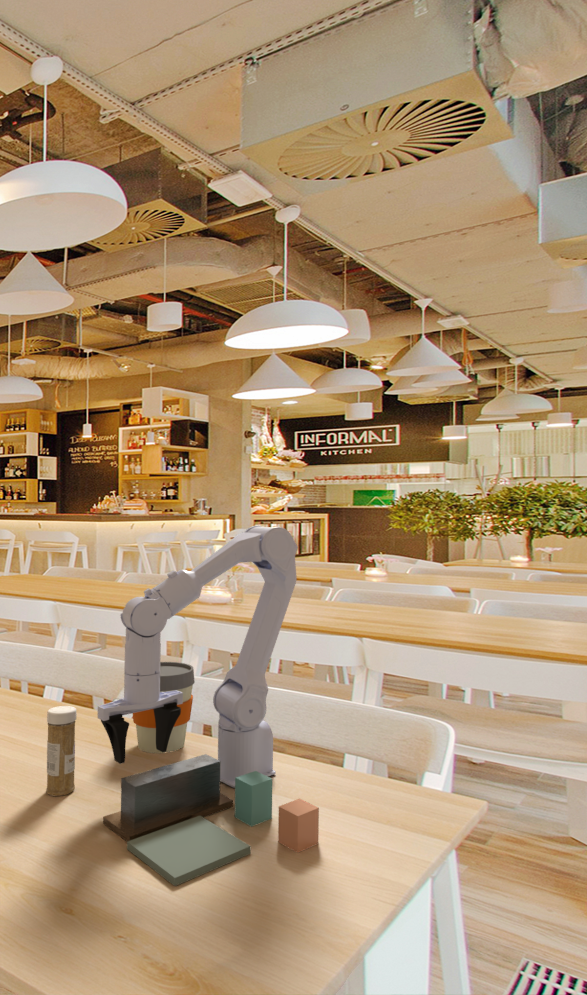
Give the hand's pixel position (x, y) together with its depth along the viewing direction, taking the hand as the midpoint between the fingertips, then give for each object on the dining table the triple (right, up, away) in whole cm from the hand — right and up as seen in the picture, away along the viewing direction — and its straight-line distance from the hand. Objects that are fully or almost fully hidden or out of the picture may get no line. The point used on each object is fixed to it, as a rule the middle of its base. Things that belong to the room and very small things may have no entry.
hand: (140, 755), depth 109 cm
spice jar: (-13, -6, +1) cm, 15 cm away
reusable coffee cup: (-1, -7, +23) cm, 24 cm away
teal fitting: (+19, -7, -7) cm, 21 cm away
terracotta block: (+26, -7, -15) cm, 30 cm away
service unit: (+6, -6, -7) cm, 11 cm away
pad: (+11, -6, -18) cm, 21 cm away
